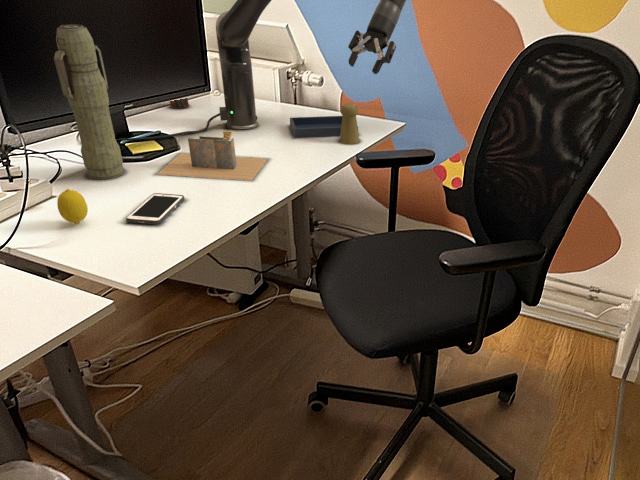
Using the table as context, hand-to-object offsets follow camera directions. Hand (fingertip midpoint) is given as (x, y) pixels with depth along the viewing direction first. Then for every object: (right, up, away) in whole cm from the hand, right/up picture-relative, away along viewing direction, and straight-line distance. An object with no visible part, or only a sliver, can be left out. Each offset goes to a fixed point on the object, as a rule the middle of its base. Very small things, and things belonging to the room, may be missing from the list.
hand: (362, 69), depth 182 cm
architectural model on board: (-39, -34, -20) cm, 56 cm away
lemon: (-59, -54, -52) cm, 95 cm away
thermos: (-64, -38, -28) cm, 80 cm away
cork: (-4, -21, +2) cm, 22 cm away
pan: (-13, -16, +10) cm, 23 cm away
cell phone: (-44, -50, -45) cm, 81 cm away
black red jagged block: (-65, -3, +26) cm, 70 cm away
